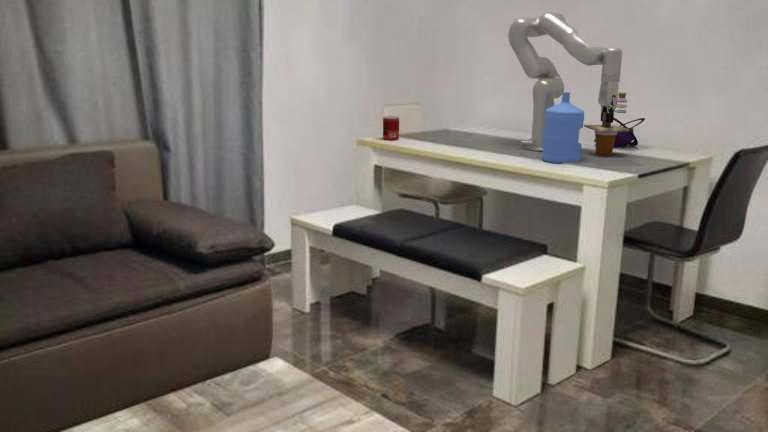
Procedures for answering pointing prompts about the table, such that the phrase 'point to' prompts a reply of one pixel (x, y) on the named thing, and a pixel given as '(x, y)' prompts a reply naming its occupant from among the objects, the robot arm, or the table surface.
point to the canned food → (390, 128)
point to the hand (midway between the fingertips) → (606, 121)
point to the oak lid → (606, 126)
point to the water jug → (562, 132)
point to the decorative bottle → (625, 136)
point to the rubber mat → (615, 162)
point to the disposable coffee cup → (605, 142)
